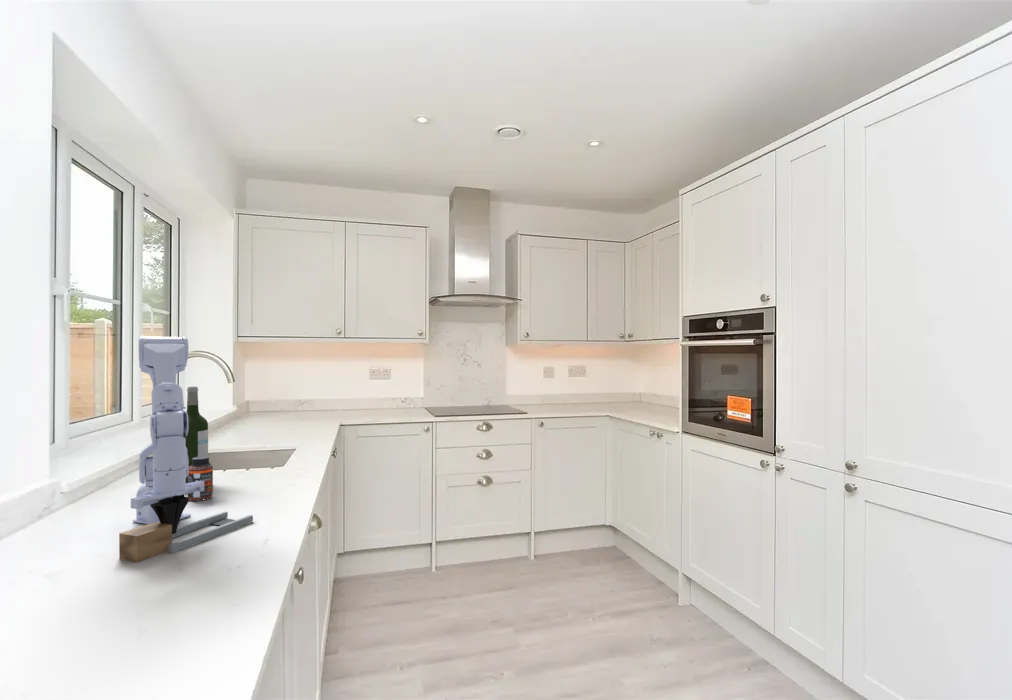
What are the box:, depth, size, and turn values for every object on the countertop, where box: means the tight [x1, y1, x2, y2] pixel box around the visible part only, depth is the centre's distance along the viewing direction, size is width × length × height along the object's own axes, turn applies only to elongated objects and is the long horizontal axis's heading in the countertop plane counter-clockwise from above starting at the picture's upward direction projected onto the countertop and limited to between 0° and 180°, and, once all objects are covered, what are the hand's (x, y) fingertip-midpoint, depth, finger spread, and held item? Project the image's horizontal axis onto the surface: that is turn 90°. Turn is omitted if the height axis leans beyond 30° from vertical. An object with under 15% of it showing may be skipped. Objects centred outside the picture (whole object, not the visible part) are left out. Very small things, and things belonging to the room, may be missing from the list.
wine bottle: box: [183, 386, 209, 483], centre depth 153 cm, size 8×8×30 cm
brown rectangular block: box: [118, 522, 173, 563], centre depth 102 cm, size 5×7×5 cm
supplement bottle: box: [187, 456, 214, 502], centre depth 141 cm, size 6×6×11 cm
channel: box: [167, 511, 254, 554], centre depth 114 cm, size 9×20×2 cm, turn 160°
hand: (169, 533), depth 107 cm, fingers closed
